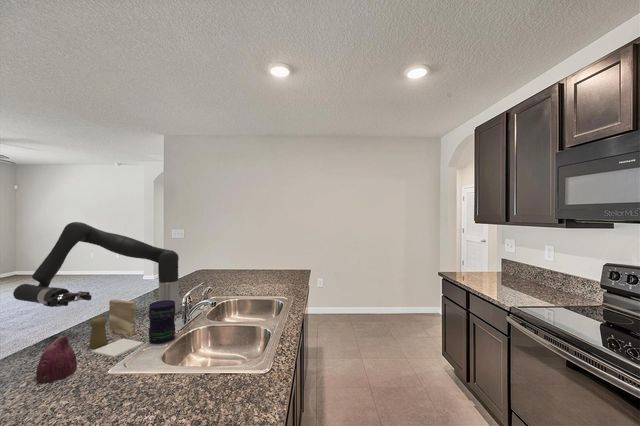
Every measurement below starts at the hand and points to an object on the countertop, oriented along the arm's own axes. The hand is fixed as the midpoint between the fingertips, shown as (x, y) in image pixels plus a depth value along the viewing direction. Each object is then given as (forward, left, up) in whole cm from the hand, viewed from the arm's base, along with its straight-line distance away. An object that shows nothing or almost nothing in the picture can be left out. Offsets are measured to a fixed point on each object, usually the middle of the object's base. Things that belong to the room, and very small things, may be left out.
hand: (79, 300), depth 120 cm
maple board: (-12, +8, -17) cm, 22 cm away
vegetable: (+19, +20, -17) cm, 33 cm away
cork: (0, +11, -17) cm, 21 cm away
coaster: (-1, +21, -17) cm, 27 cm away
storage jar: (-13, +30, -17) cm, 37 cm away
